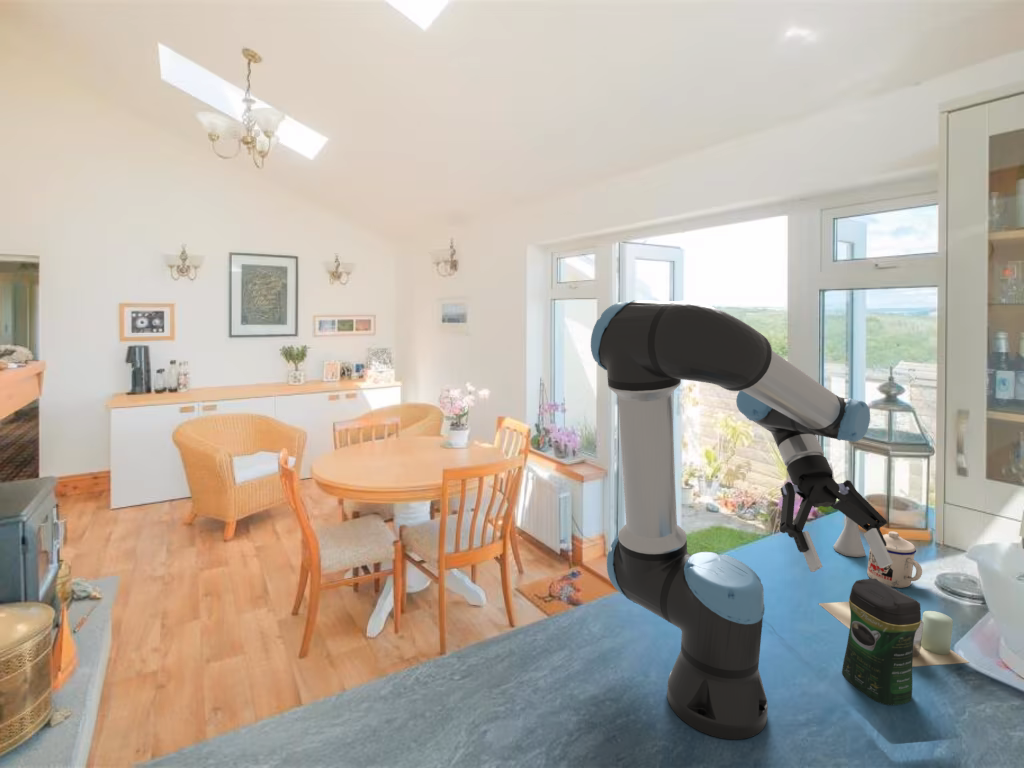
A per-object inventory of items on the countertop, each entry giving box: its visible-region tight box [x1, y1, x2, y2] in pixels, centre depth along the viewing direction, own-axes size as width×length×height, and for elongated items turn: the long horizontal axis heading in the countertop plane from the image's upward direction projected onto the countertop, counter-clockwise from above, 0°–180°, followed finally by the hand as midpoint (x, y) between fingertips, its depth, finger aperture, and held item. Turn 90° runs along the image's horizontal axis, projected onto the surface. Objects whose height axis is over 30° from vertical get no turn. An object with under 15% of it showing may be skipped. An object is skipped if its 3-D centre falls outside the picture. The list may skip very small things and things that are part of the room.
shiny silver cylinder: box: [913, 619, 924, 657], centre depth 101 cm, size 4×4×6 cm
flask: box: [832, 515, 867, 558], centre depth 145 cm, size 7×7×10 cm
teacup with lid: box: [867, 531, 923, 589], centre depth 129 cm, size 12×9×12 cm
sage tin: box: [921, 610, 954, 655], centre depth 102 cm, size 4×4×6 cm
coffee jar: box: [841, 578, 922, 706], centre depth 91 cm, size 10×8×19 cm
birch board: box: [818, 601, 970, 668], centre depth 108 cm, size 14×21×2 cm, turn 7°
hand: (851, 567), depth 99 cm, fingers open, 13 cm apart
